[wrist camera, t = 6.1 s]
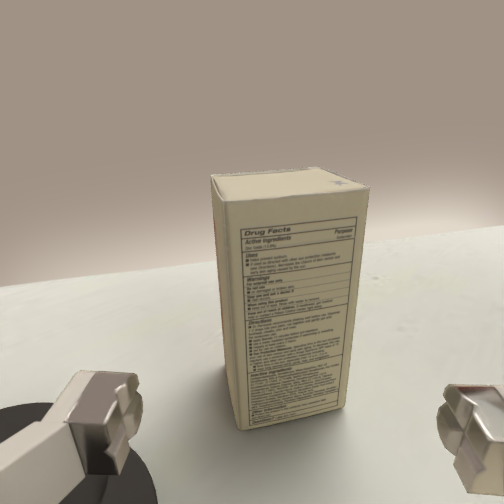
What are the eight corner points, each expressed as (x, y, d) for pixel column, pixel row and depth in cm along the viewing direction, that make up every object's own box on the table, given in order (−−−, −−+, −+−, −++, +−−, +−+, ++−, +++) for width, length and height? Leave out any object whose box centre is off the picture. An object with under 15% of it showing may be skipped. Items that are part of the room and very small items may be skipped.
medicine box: (310, 347, 19) (326, 164, 15) (347, 411, 15) (382, 187, 11) (218, 361, 18) (207, 169, 14) (232, 434, 14) (222, 198, 10)
